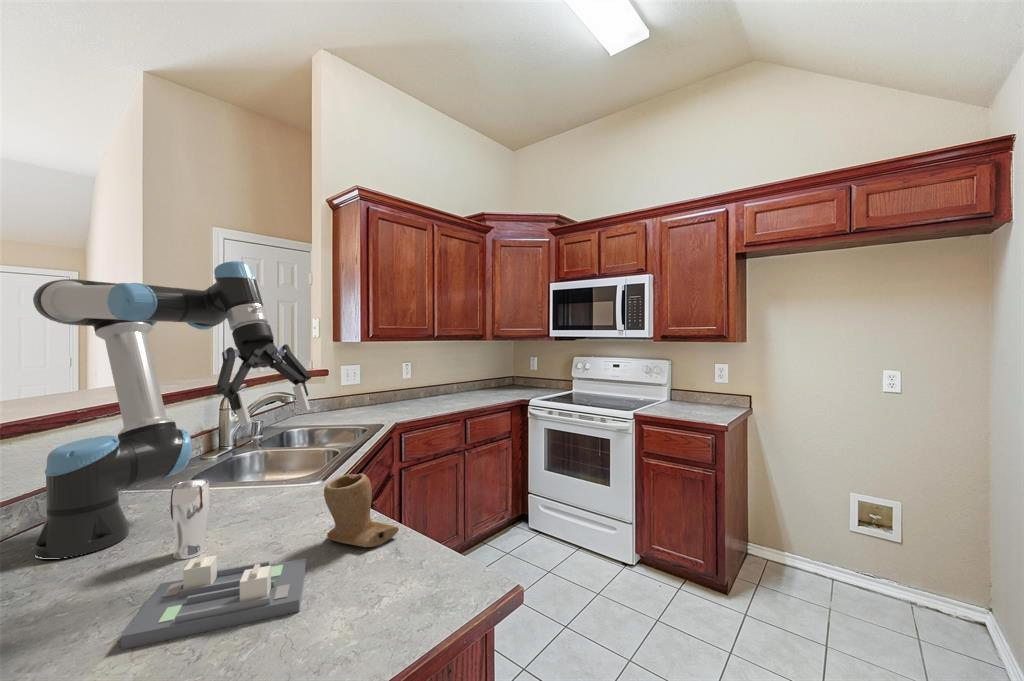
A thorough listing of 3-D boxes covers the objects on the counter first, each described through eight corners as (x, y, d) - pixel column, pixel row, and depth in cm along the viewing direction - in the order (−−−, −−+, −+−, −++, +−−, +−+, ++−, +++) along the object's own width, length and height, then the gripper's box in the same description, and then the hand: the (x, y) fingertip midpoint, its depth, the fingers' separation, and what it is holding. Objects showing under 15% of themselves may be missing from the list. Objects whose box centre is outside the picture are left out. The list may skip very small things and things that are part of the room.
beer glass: (217, 547, 95) (217, 480, 95) (185, 563, 89) (184, 491, 89) (196, 543, 98) (195, 477, 98) (162, 557, 91) (162, 487, 91)
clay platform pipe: (312, 545, 96) (312, 479, 96) (353, 524, 107) (352, 465, 107) (362, 560, 90) (361, 489, 90) (400, 537, 100) (400, 473, 100)
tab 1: (183, 593, 75) (183, 565, 75) (191, 581, 78) (190, 554, 78) (210, 588, 76) (210, 561, 76) (216, 576, 80) (216, 550, 80)
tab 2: (239, 606, 71) (239, 577, 71) (244, 592, 74) (244, 565, 74) (267, 600, 72) (267, 572, 72) (271, 587, 76) (270, 561, 76)
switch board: (121, 649, 64) (120, 629, 64) (160, 594, 78) (160, 577, 78) (299, 611, 73) (299, 593, 73) (306, 567, 87) (306, 553, 87)
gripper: (196, 321, 83) (225, 424, 80) (309, 320, 105) (336, 401, 102) (178, 336, 86) (206, 436, 83) (292, 333, 108) (316, 411, 105)
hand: (277, 417), depth 93 cm, fingers open, 13 cm apart
